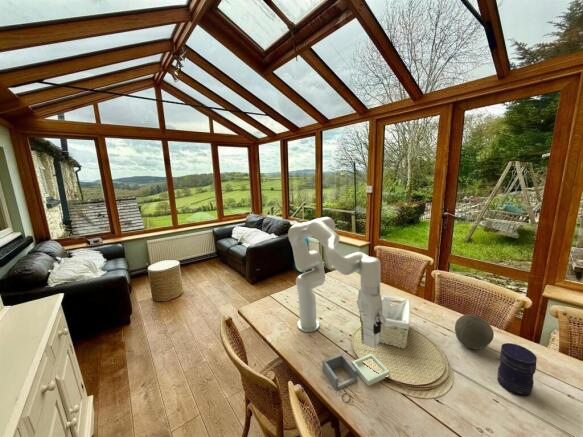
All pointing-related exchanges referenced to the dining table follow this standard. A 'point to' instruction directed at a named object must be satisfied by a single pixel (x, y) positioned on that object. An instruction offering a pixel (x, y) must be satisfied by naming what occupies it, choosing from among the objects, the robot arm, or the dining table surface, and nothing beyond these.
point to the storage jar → (516, 369)
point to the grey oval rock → (473, 331)
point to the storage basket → (395, 321)
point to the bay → (337, 361)
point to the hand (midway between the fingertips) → (370, 326)
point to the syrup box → (368, 331)
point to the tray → (370, 370)
